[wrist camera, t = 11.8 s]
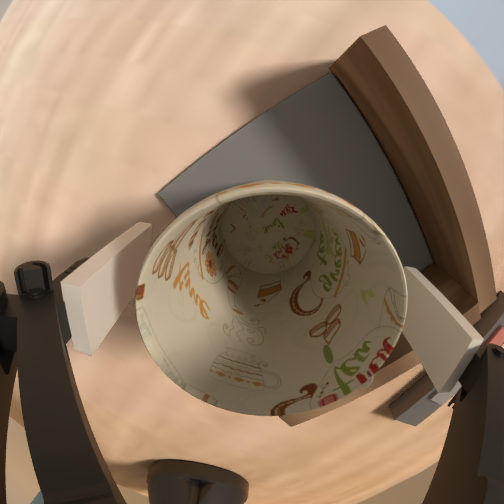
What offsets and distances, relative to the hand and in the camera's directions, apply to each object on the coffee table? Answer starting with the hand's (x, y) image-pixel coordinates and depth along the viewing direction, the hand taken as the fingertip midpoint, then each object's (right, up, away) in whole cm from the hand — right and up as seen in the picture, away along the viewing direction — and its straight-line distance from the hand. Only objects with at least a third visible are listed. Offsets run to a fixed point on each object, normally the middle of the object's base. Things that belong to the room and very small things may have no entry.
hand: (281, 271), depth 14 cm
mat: (+2, +3, +4) cm, 5 cm away
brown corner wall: (+3, +2, +4) cm, 5 cm away
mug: (+1, +1, +4) cm, 4 cm away
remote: (+19, -10, +8) cm, 23 cm away
